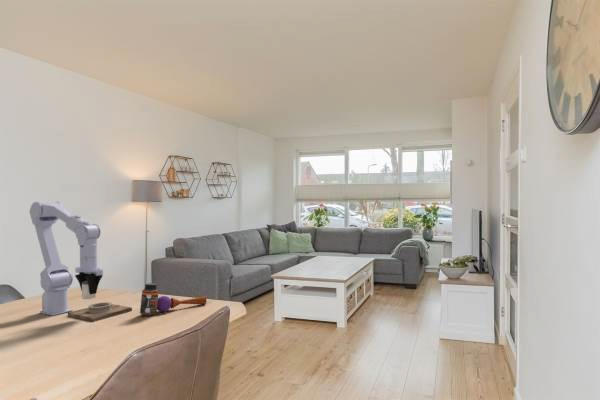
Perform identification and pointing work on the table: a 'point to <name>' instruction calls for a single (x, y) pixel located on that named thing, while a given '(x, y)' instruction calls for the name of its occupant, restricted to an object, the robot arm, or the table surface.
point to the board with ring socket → (99, 311)
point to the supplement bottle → (149, 299)
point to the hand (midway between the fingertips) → (89, 293)
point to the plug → (86, 291)
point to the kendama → (176, 302)
